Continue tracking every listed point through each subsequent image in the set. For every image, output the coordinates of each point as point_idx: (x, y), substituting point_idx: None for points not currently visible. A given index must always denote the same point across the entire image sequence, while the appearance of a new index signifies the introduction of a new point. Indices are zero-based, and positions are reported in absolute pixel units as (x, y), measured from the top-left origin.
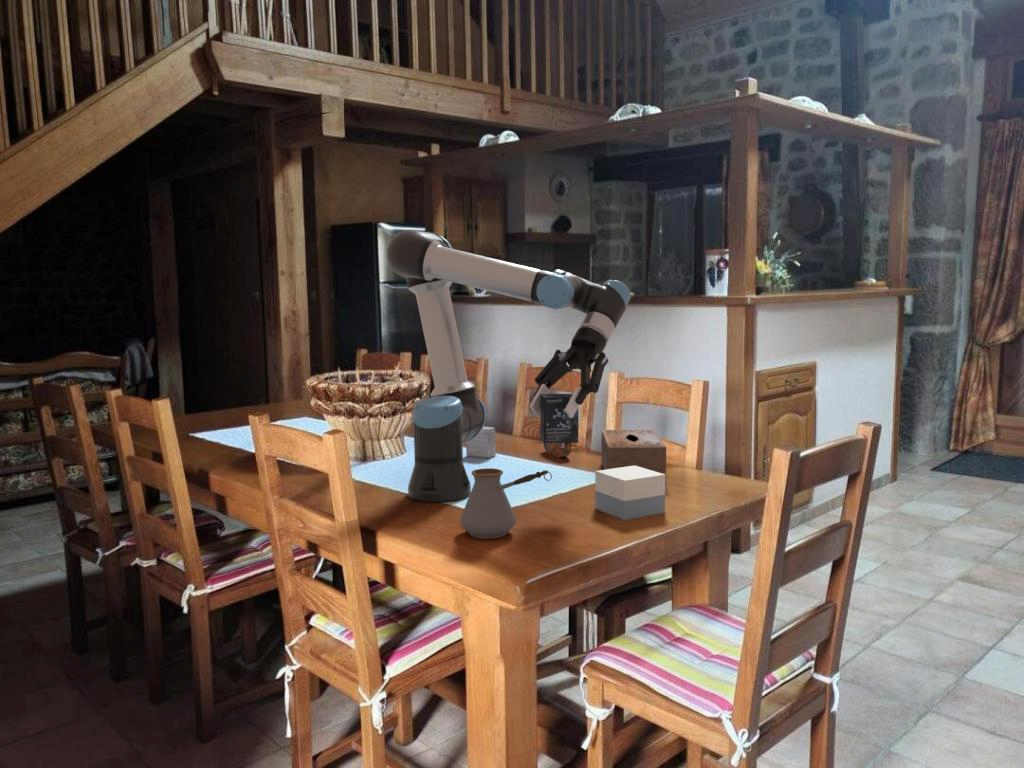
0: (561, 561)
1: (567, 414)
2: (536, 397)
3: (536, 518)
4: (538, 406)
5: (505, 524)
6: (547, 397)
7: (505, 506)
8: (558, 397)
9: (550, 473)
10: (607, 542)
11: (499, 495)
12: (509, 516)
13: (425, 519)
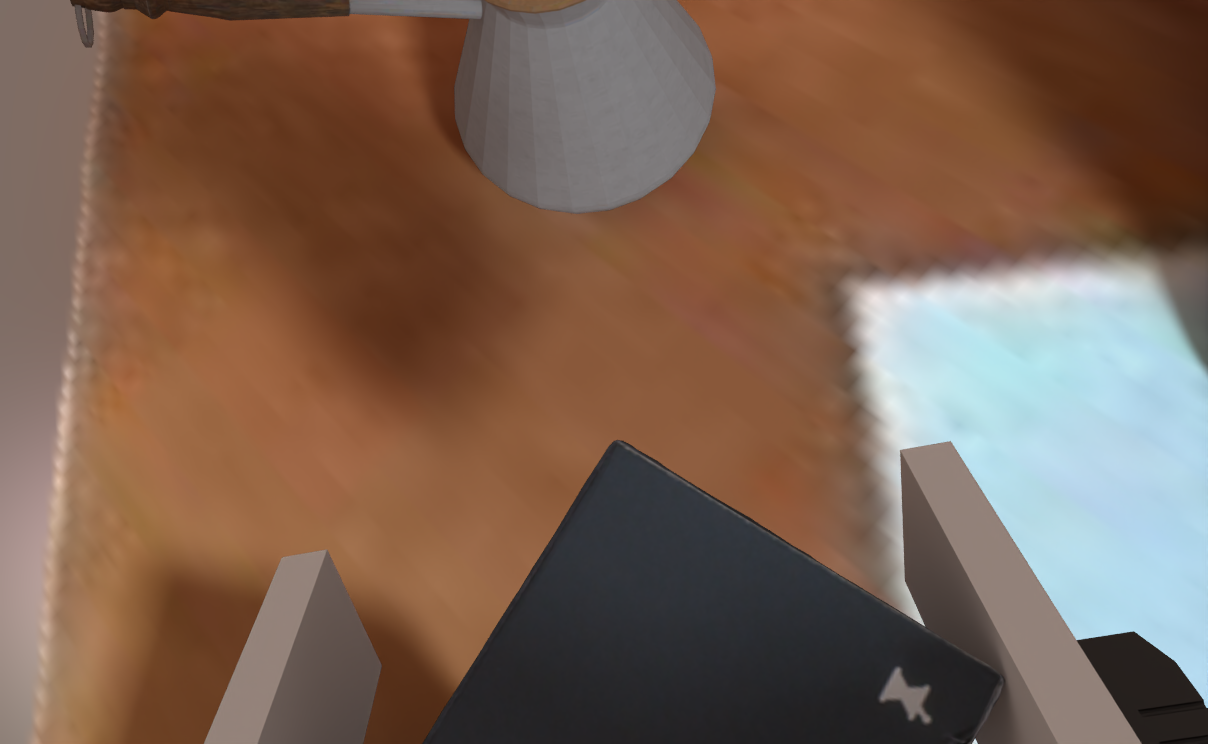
0: (136, 128)
1: (351, 615)
2: (982, 570)
3: (622, 430)
4: (937, 609)
5: (454, 92)
6: (594, 483)
7: (467, 76)
8: (487, 649)
9: (79, 30)
10: (139, 413)
11: (471, 19)
12: (462, 112)
13: (967, 28)
